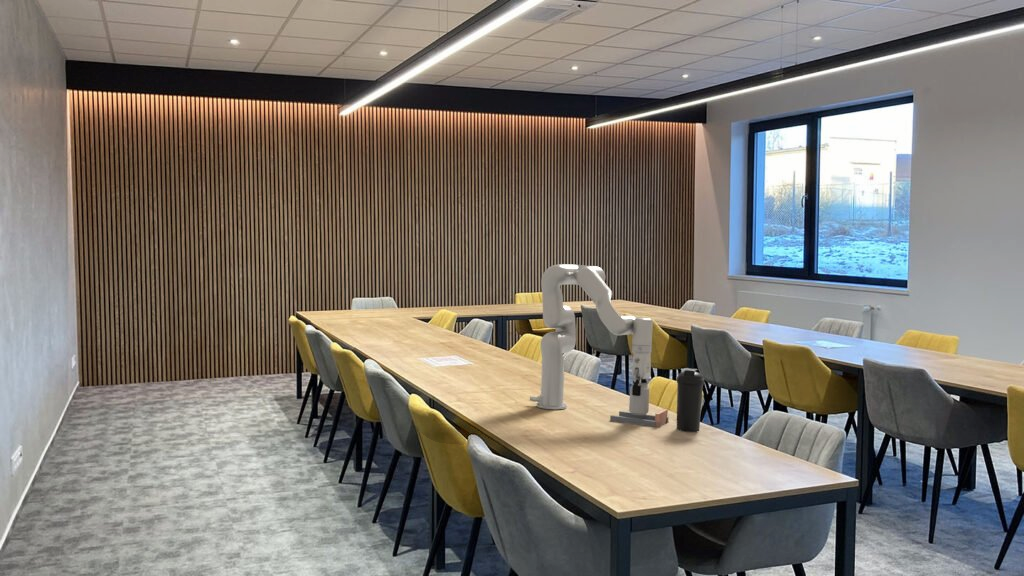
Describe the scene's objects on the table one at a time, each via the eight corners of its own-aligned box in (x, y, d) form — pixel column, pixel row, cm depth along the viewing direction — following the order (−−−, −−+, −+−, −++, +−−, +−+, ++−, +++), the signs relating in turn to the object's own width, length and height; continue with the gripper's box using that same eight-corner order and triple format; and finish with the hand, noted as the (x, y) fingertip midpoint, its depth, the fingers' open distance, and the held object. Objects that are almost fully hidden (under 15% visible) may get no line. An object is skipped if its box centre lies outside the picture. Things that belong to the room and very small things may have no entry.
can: (647, 416, 331) (649, 385, 331) (628, 414, 333) (629, 384, 332) (648, 412, 339) (650, 382, 338) (629, 411, 340) (631, 381, 339)
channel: (610, 420, 335) (610, 408, 335) (619, 416, 345) (620, 403, 345) (659, 427, 326) (660, 414, 326) (668, 422, 336) (668, 409, 336)
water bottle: (703, 428, 327) (706, 368, 326) (699, 433, 318) (702, 372, 316) (676, 425, 331) (679, 366, 329) (672, 430, 321) (675, 369, 320)
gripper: (644, 352, 325) (641, 398, 326) (657, 348, 340) (655, 392, 341) (625, 350, 328) (623, 396, 329) (639, 346, 344) (637, 390, 345)
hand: (639, 393), depth 335 cm, fingers closed on can, 7 cm apart
